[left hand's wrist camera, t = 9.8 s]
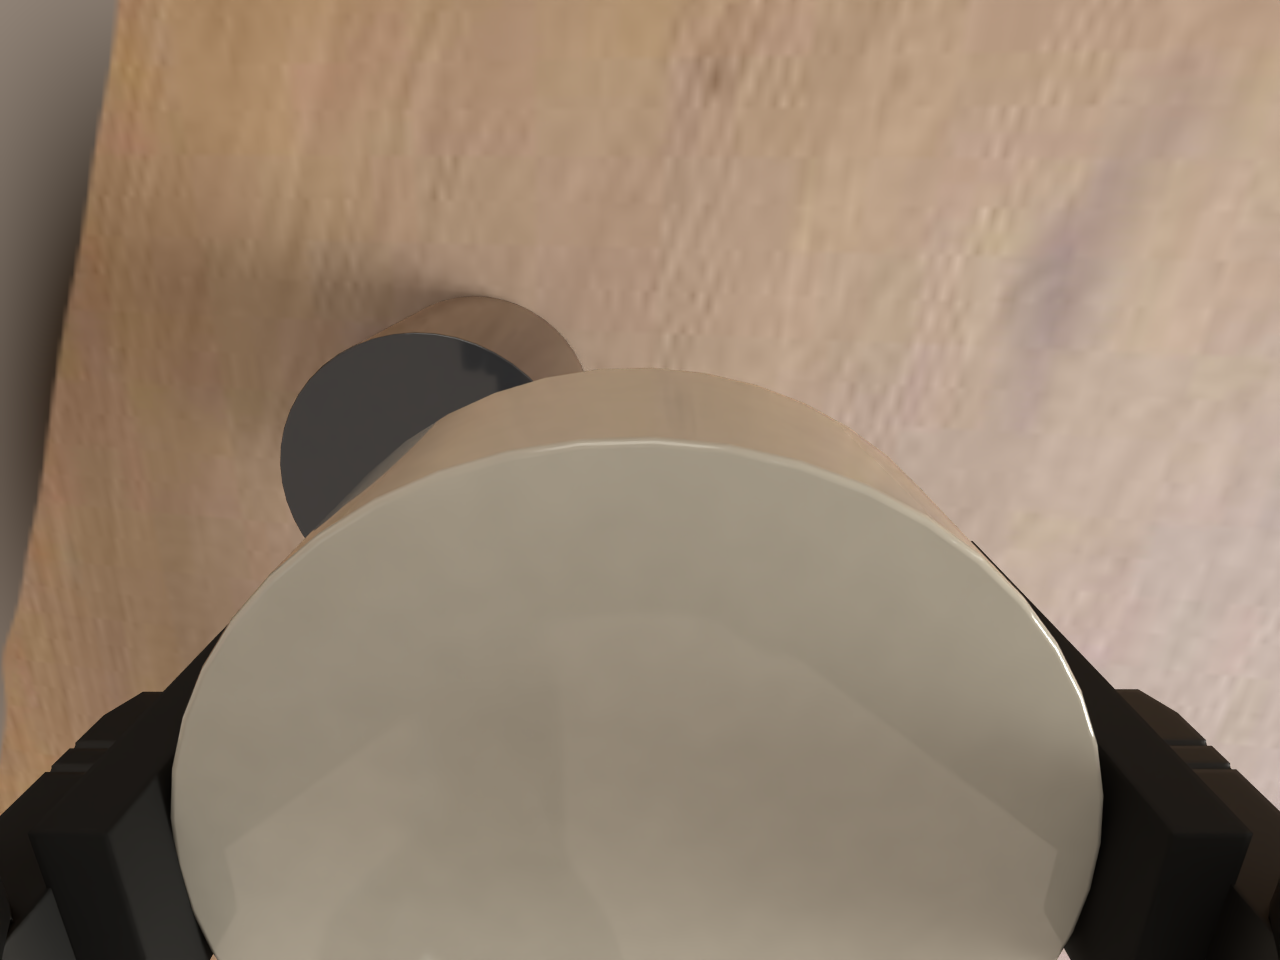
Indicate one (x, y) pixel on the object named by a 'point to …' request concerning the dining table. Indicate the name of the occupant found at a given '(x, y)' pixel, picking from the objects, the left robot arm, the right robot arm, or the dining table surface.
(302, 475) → the mallet
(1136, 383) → the dining table surface
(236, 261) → the dining table surface
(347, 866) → the lid
